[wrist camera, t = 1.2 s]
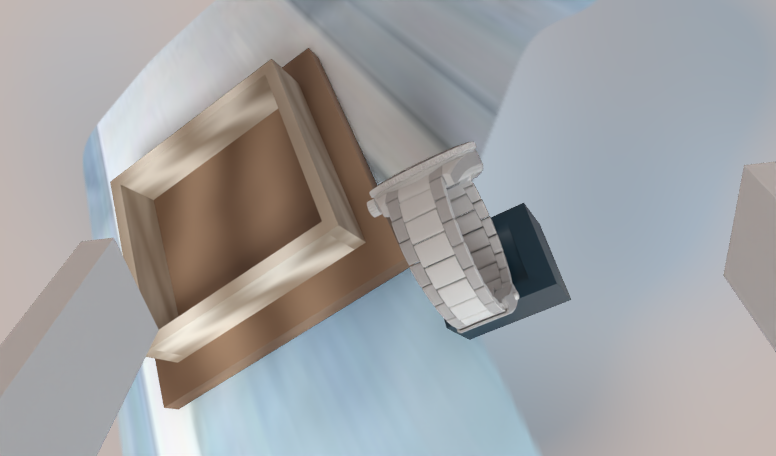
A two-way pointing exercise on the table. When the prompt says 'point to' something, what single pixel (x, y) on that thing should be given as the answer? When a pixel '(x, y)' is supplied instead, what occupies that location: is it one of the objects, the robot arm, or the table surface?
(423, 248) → the watch
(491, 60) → the table surface
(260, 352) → the board
